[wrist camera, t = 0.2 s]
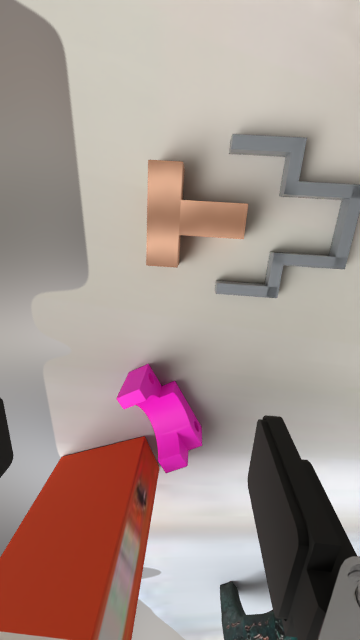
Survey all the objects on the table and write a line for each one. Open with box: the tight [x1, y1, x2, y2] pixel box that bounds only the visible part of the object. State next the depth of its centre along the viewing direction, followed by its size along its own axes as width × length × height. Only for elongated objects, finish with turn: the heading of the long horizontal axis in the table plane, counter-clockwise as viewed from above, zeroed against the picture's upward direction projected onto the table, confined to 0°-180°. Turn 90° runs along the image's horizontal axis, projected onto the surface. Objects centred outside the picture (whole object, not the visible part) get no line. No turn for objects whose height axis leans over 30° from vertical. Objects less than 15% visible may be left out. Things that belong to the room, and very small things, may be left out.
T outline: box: [215, 134, 360, 298], centre depth 34 cm, size 19×16×2 cm
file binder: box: [0, 436, 159, 640], centre depth 35 cm, size 8×17×32 cm, turn 110°
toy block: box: [116, 364, 202, 473], centre depth 42 cm, size 15×6×8 cm, turn 27°
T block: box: [146, 160, 248, 267], centre depth 34 cm, size 12×12×4 cm
